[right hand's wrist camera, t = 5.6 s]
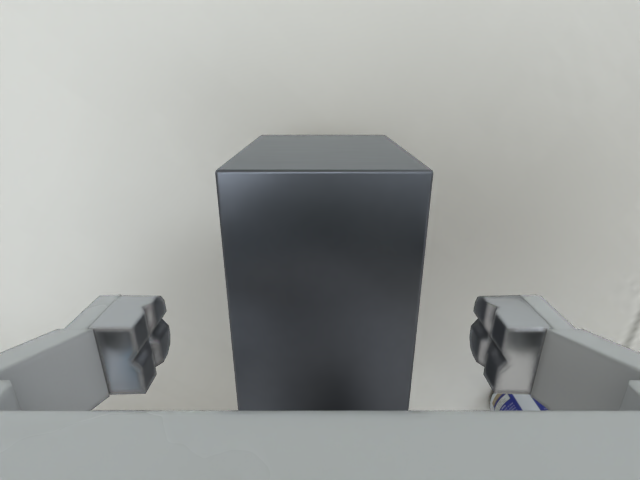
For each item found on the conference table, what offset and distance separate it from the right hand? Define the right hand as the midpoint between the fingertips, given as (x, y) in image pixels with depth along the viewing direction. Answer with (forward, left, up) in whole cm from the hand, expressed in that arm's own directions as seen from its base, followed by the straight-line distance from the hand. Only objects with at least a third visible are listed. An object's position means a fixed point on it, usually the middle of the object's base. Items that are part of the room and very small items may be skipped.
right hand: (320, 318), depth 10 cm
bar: (-2, +9, -10) cm, 14 cm away
